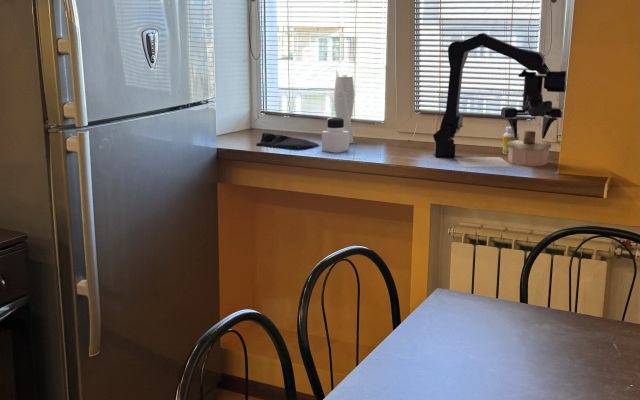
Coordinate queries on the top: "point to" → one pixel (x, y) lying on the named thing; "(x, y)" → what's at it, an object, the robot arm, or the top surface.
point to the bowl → (528, 157)
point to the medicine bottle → (335, 136)
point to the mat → (482, 162)
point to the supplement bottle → (508, 139)
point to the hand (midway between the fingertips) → (529, 138)
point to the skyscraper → (344, 100)
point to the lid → (529, 142)
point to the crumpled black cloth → (285, 142)
